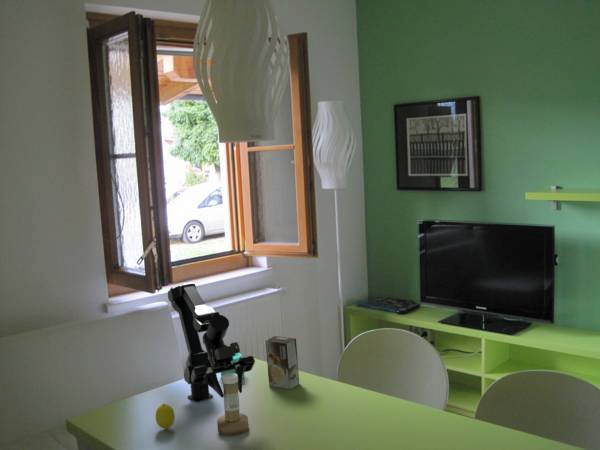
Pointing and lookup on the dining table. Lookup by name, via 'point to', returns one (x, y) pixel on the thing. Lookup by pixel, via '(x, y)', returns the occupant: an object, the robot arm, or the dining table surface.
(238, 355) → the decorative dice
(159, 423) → the lemon
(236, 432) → the walnut base
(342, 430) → the dining table surface
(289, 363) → the coffee box
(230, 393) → the sprinkles bottle
